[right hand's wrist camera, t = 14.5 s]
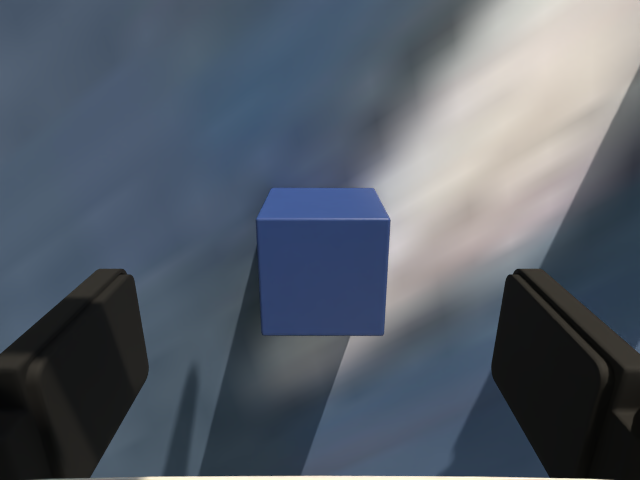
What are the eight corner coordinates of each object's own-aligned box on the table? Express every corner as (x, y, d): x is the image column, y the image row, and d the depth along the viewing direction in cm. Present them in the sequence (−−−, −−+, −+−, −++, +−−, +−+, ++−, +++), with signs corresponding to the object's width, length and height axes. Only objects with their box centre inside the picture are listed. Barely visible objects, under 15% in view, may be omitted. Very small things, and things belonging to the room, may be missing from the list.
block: (270, 187, 18) (255, 217, 14) (374, 187, 18) (391, 218, 14) (274, 282, 19) (261, 336, 15) (370, 282, 19) (384, 336, 15)
